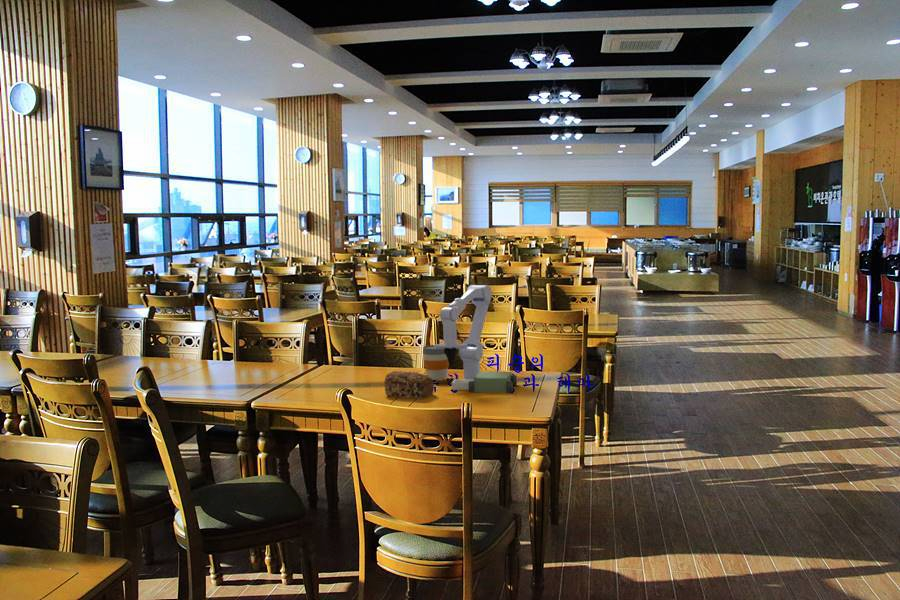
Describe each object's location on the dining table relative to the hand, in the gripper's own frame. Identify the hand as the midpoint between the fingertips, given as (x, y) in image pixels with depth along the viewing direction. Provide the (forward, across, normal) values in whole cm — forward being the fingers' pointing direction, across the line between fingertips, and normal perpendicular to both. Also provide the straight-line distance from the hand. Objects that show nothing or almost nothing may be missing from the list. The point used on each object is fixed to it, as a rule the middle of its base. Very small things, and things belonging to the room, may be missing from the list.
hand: (451, 365), depth 335 cm
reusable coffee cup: (+10, -11, +17) cm, 22 cm away
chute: (+9, +7, -4) cm, 12 cm away
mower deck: (+9, +19, -4) cm, 22 cm away
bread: (+10, -14, -18) cm, 25 cm away
